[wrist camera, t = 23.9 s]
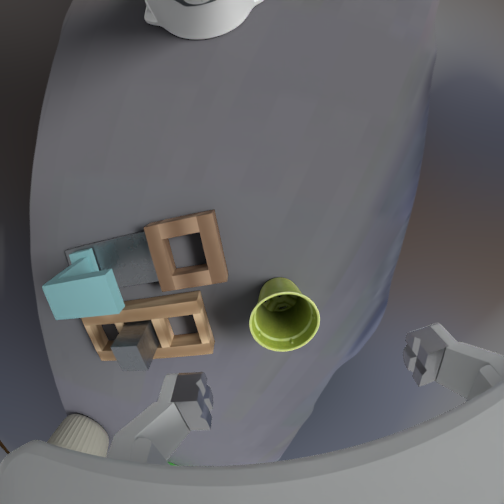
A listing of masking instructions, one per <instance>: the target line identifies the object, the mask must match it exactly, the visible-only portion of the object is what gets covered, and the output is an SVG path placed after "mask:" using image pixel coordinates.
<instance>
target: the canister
mask: <svg viewBox="0 0 504 504" xmlns="http://www.w3.org/2000/svg"><path fill="white" fill-rule="evenodd" d="M47 443H50V444H53V445H56V446H59V447H63V448H66V449H70V450H74V451H78V452H82V453H87V454H91V455H96V456H101V457H106V455H107V450H108V445H109V438H108V435H107V433H106V431H105V430H104V428H102V426H100V425H99V424H98V423H97V422H95V421H94V420H92V419H90V418H89V417H86V416H84V415H80V414H71V415H69V416H67V417H66V418H65V419H64V420H63V422H62V423H61V424H60V425H59V427H58V428H57V429H56V431H55V432H54V433H53V435H52V436H51V437H50V439H49V440H48V442H47Z"/></svg>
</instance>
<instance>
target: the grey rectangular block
mask: <svg viewBox="0 0 504 504" xmlns="http://www.w3.org/2000/svg"><path fill="white" fill-rule="evenodd" d="M159 343H160V341H159V339H158V336H157V334H156V331H155V329H154V326H153V323H152V321H151V320H143V321H134V322H126V324H125V325H124V327H123V328H122V330H121V331H120V333H119V334H118V336H117V338H116V339H115V341H114V342H113V344H112V346H111V347H110V348H111V350H112V352H113V354H114V356H115V358H116V360H117V362H118V364H119V366H120V367H121V369H122V371H143V370H148V369H149V367H150V364H151V362H152V359H153V357H154V354H155V352H156V350H157V347H158V345H159Z"/></svg>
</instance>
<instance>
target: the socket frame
mask: <svg viewBox="0 0 504 504" xmlns="http://www.w3.org/2000/svg"><path fill="white" fill-rule="evenodd" d="M197 232H200V236H201V240H202V244H203V249H204V253H205V257H206V261H207V263H206V264H200V265H195V266H189V267H183V268H177V269H176V266H175V262H174V259H173V255H172V251H171V248H170V244H169V240H168V238H172V237H177V236H182V235H187V234H192V233H197ZM89 248H92V250H93V253H94V256H95V259H96V262H97V265H98V268H99V271H101V270H107V269H112V270H113V273H114V276H115V279H116V282H117V285H118V288H119V287H126V286H132V285H138V284H145V283H151V282H157V281H159V283H160V286H161V290H162V292H165V291H171V290H178V289H184V288H191V287H197V286H203V285H210V284H216V283H222V282H227V279H228V270H227V266H226V261H225V257H224V252H223V247H222V243H221V238H220V234H219V229H218V224H217V219H216V215H215V210H209V211H204V212H199V213H194V214H189V215H184V216H180V217H175V218H170V219H166V220H161V221H157V222H152V223H149V224H148V225H147V226H145V227H144V231H142V232H137V233H133V234H129V235H124V236H120V237H116V238H111V239H107V240H103V241H99V242H95V243H91V244H87V245H83V246H79V247H75V248H71V249H67V250H66V251H65V253H66V256H67V259H68V262H69V265H71V264H72V263H71V260H70V257H69V254H71V253H72V252H77V251H81V250H85V249H89Z"/></svg>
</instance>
